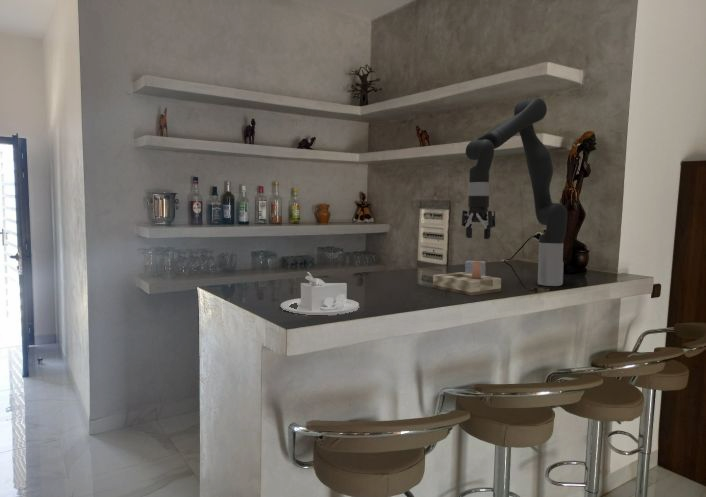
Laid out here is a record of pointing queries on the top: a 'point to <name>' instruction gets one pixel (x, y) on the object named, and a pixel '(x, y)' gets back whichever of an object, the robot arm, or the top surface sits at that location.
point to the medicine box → (469, 267)
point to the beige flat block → (466, 283)
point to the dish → (321, 299)
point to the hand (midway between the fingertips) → (477, 238)
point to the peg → (476, 270)
